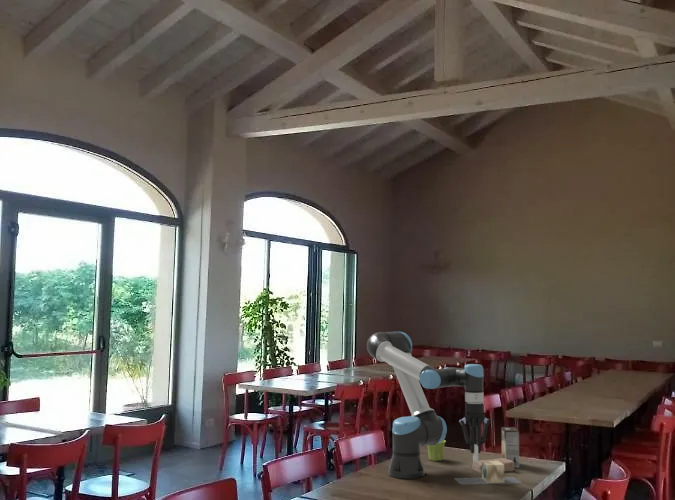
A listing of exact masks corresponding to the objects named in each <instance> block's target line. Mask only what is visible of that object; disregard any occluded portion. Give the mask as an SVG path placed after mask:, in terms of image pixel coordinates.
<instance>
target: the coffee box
mask: <svg viewBox="0 0 675 500" xmlns="http://www.w3.org/2000/svg"><path fill="white" fill-rule="evenodd" d="M500 430H501V433H500V434H501V436H500V437H501V438H500V439H501V442H500V443H501V458H505V459H508V460H512V461H513V462H514V468H520V430H518V429H517V428H516V427H515V426H510V427H509V426H501V427H500Z"/></svg>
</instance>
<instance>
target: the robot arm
mask: <svg viewBox="0 0 675 500" xmlns="http://www.w3.org/2000/svg"><path fill="white" fill-rule="evenodd" d="M366 351H367V352H368V354H369V355H370V357H372V358H373V359H374V360H377V362H381V363H382V362H385V363H387V364H388V365H389V366H391V367H392V368H393V372H394V375H395V376H396V378H397V381H398V383H399V386H400V389H401V392H402V394H403V396H404V398H405V402H406V404H407V407H408V409H409V412H410V414H411V415H408V416H401V417H398V418H396V419H394V420H393V422H392V429H391V431H392V455H391V460H390V463H389V466H388V475H389V476H390V477H393V478H398V479H405V480H406V479H407V480H408V479H409V480H410V479H419V478H422V477H424V476H425V466H424V464H423V461H422V457H421V448H423V447H427V446H428V445H435V444H437V443H440V442H442V441H443V440H445V438H446V435H447V431H448V430H447V429H448V428H447V427H448V426H447V424H446V421H445V419H444V418H442V417H441V416H439V415H437V413H436V410H435V409H433V408H431V407H430V405H429V403H428V400H427V397H426V395H425V393H424V390H423V388H424V389H427V390H429V389H430V390H435V389H440V388H448V387H463V388H464V402H465V403H464V405H465V407H464V409H465V411H464V412H465V414H464V417H463V418H461V419H459V420H458V423H460V425H461V429H462V433H463V436H464V437H463V438H464V441H465V443H466V444H468V445H469V446H470V453H471V454H472V462H473V461H474V462H478V461H479V454H481V446H482V445H484V444H485V443H486V440H487V434H488V430H489V426H490V424H491V422H492V421H491V419H489V418H487V417H486V414H485V404H484V400H485V398H484V375H485V374H484V366H483V365H482V364H478V363H467V364H465V365H464V368H463V367H462V368H461V367H453V366H449V367H447V366H446V367H444V368H435V367H433V366H431V365H429V364H427V363H425V362H423V361H421V360H419V359H418V358H416V357H414V356H412V352H413V342H412V339H411V337H410V336H409V335H408V334H407V333H405V332H403V331H396V330H395V331H394V330H393V331H386V332H385V331H379V332H375V333H372V334H371V336H369V337H368V339H367V342H366ZM421 385H422V386H421ZM422 387H423V388H422ZM466 424H468V426H469V433H468V428H467V425H466ZM482 424H483V426H482ZM481 426H482V427H481ZM481 429H482V431H481ZM475 443H476V444H475Z"/></svg>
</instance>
